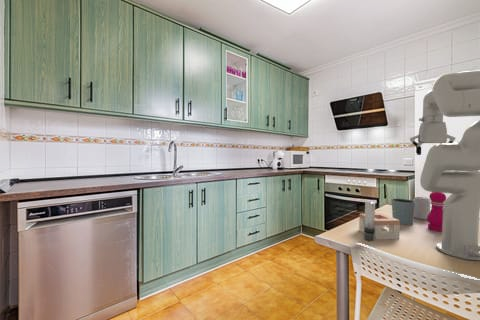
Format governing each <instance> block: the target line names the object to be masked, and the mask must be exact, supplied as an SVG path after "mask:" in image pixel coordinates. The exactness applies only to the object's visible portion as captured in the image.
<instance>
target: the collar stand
mask: <svg viewBox="0 0 480 320" xmlns="http://www.w3.org/2000/svg"><path fill="white" fill-rule="evenodd" d="M358 220H359V227H358V230H359V231H360V232H361V233H363V234H364V226H365V213H359V219H358ZM387 226H388V227H387ZM400 227H401V224H400V220H398V219H395V218H393V216H390V215H388V214H384V213H382V212H375V224H374V228H375V232H374V240H392V239H393V240H394V239H396V240H398V239H400V231H401V230H400V229H401V228H400Z"/></svg>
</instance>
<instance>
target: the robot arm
mask: <svg viewBox="0 0 480 320" xmlns="http://www.w3.org/2000/svg"><path fill="white" fill-rule="evenodd" d="M444 117H448V118H457V117H458V118H461V117H462V118H465V117H480V70H469V71H461V72H459V71H458V72H451V73H444V74H442V75H440V76H438V77H437V78H436V79H435V81H434V82H433V85H432V89H431V90H429V91H428V92H426V93H425V95H424V96H423V99H422V117H419V119H418V121H419V122H421V123H420V125H419V130H418V134H417V135H415V136H413V137H412V136H411V138H409V140H410V142H411V143H412V145H413V146H414V147H416V148H415V153H416V155H417V156H421V155H422V145H423V144H434V145H433V146H432V147H430V149H429V150H428V153H427V155H426V158H425V160H424V161H425V162H424V165H423V166H422V170H421V174H420V179H419V180H420V181H419V182H420V187H421V188H422V189H423V190H424V191H426V192H429V193H432V192H439V193H443V194H450V195H449V196H448V197H446V200H445V201H444V204H443V221H442V232H441V242H437V243H436V244H435V248H436V249H437V250H438V251H439V252H442V253H443V254H446V255H449V256H452V257H453V258H454V257H455V258H458V259H464V260H469V261H480V244H479V232H480V230H479V229H480V119H479V120H476V121H475V122H474V123H473V124H471V125H470V126H468V128H466V130H465V131H464V132H463V134H462V137H461V140H460V141H459V142H455V140H456V137H455V136H452V135H449V134H448V129H447V125H446V122H445V121H444ZM416 139H417V141H416ZM448 139H449V140H448ZM453 142H454V143H453Z"/></svg>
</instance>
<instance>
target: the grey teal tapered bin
mask: <svg viewBox="0 0 480 320" xmlns="http://www.w3.org/2000/svg"><path fill="white" fill-rule="evenodd" d="M414 207H415V201H413V199H412V200H411V199H406V198H391V210H392V211H391V212H392V216H391V217H392V218H395V219H398V220H400V226H401V225H403V226H413V224H414V215H413V214H414Z"/></svg>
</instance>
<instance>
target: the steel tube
mask: <svg viewBox="0 0 480 320" xmlns="http://www.w3.org/2000/svg"><path fill="white" fill-rule="evenodd" d="M375 213H376V202H374V201H365V202H364V214H365V226H364V233H363V234H364V236H363V240H365V241H367V242H374V241H375V239H374V232H375V228H374V224H375Z"/></svg>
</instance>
